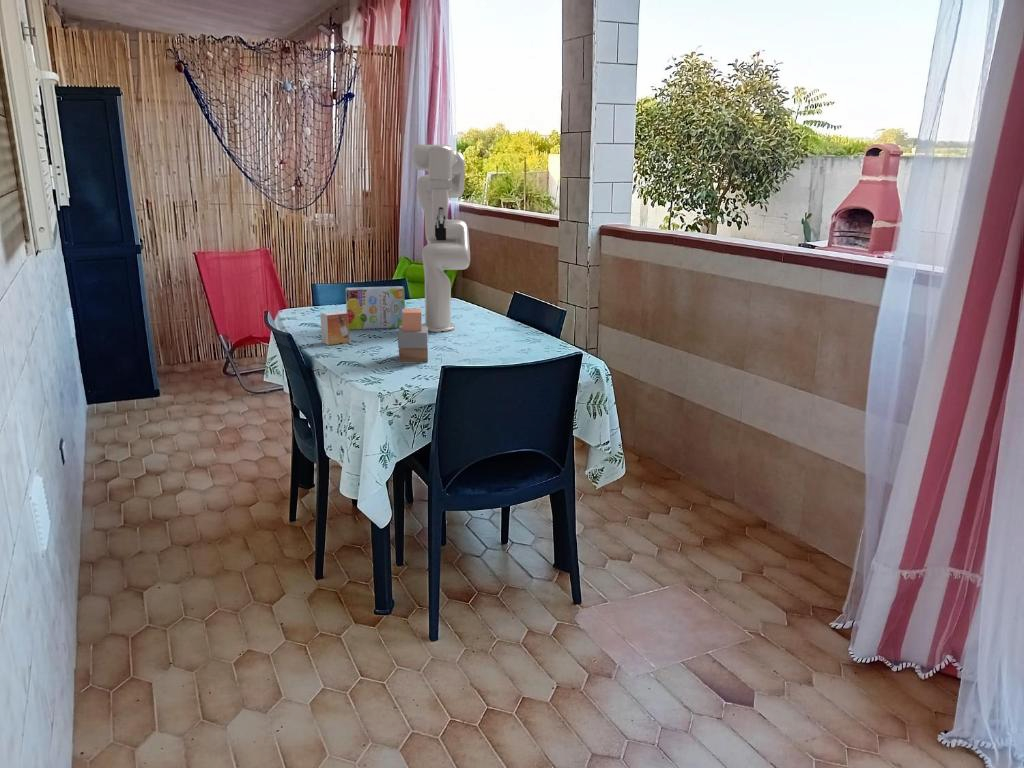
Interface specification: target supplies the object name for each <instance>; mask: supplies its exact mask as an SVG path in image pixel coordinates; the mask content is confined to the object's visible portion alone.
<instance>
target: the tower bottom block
mask: <svg viewBox="0 0 1024 768" xmlns="http://www.w3.org/2000/svg"><path fill="white" fill-rule="evenodd" d="M428 347H429V346H428V345H427V348H398V362H426V363H429V362H428V361H429V359H428V357H429V355H428V354H429V353H428V352H429V350H428V349H429V348H428Z"/></svg>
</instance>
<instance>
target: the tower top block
mask: <svg viewBox="0 0 1024 768" xmlns="http://www.w3.org/2000/svg"><path fill="white" fill-rule="evenodd" d="M428 343H429V331H428V326H422V331H402V326H400V327H399V328H398V331H397V349H399V348H427V345H428Z"/></svg>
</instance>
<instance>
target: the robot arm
mask: <svg viewBox="0 0 1024 768" xmlns="http://www.w3.org/2000/svg"><path fill="white" fill-rule="evenodd" d="M465 160H466V159H465V157H464V155H463V153H462V152H461V151H456V150H455V148H454V147H453V146H451V145H449V144H416V145H415V146H414V147H413V151H412V162H413V166H414V168H415V169H416V170H419V171H423V172H424V171H426V172H428V174H425V175H421V176H420V177H419V178H418V179H417V182H416V189H417V190H416V191H417V197H418V200H419V204H420V205H421V209H422V210H423V213H424V231H425V240H426V242H427V243H428V244H426V245H425V246H423V248H422V250H421V251H422V252H421V258H422V264H423V265H422V266H423V272H424V273H423V274H424V322H423V323H421V324H422V326H428V332H432V333H433V332H434V333H436V332H437V333H442V332H441V331H444V332H450V331H453V330H455V329H456V325H455V324H453V323H452V320H451V319H452V318H451V315H452V311H451V310H452V309H451V308H452V307H451V305H452V301H451V300H452V296H451V295H452V294H451V293H452V291H451V288H452V287H451V286H452V285H451V284H452V283H451V280H450V277H448V275H447V274H446V273H445V271H449V270H450V271H453V270H455V271H459V270H461V271H462V270H466V269H468V268H469V266H470V263H471V250H470V249H471V248H470V237H469V235H470V234H469V227H468V225H467V223H466V222H465V221H464V220H460V219H448V214H449V199H458V198H460V197H462V196H463V194H464V191H465V178H466V177H465V175H466V162H465ZM454 328H455V329H454ZM449 330H450V331H449Z"/></svg>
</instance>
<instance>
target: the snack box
mask: <svg viewBox="0 0 1024 768" xmlns="http://www.w3.org/2000/svg"><path fill="white" fill-rule="evenodd" d="M405 297H406V296H405V287H404V286H400V285H399V286H397V285H396V286H395V285H394V286H368V287H367V286H365V287H364V286H363V287H362V286H361V287H359V286H357V287H345V304H346V305H345V307H346V312H347V313H348V320H349V330H370V329H372V330H373V329H375V328H376V329H399V327H400V326H402V309H406V303H405V302H406V301H405V300H406V298H405Z"/></svg>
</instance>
